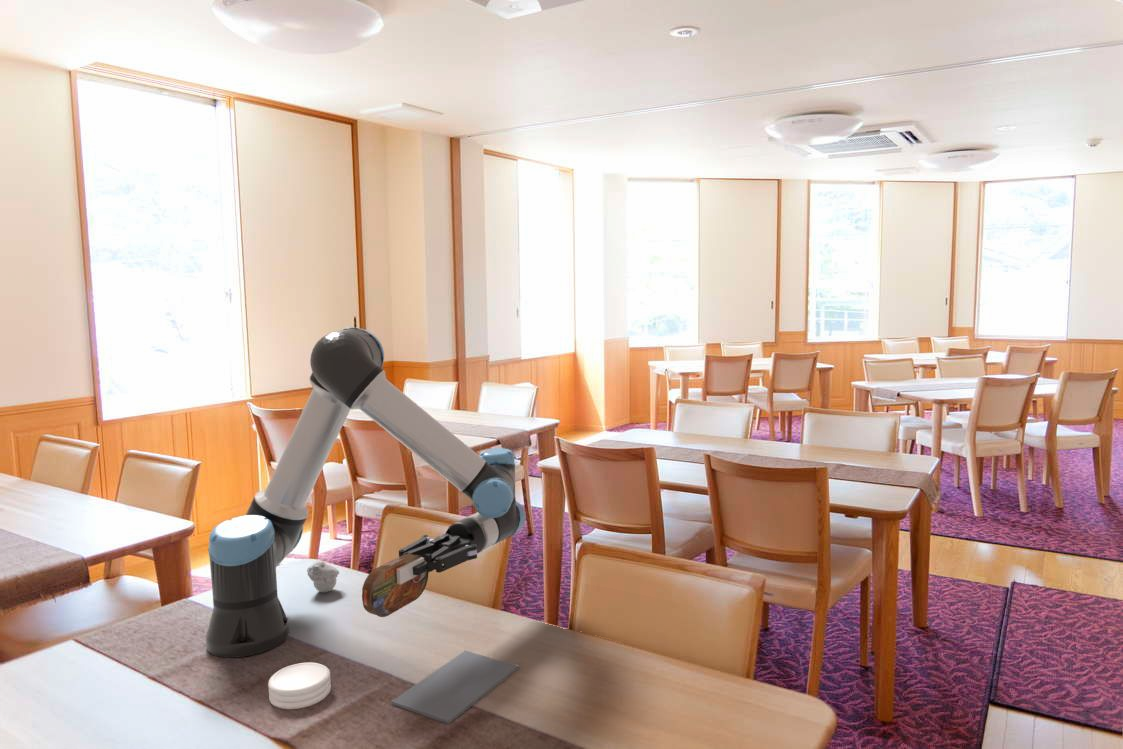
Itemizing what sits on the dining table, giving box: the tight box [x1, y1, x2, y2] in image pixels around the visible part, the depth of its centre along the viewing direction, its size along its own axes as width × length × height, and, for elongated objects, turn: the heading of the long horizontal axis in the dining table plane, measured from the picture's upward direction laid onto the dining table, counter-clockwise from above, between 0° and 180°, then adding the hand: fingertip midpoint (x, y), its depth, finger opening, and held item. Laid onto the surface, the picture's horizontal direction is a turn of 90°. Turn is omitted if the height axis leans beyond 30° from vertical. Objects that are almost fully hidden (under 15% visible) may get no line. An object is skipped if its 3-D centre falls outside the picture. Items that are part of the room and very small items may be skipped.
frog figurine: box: [306, 560, 340, 593], centre depth 174 cm, size 6×7×7 cm
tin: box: [361, 554, 430, 618], centre depth 137 cm, size 15×3×8 cm, turn 150°
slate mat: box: [391, 650, 519, 725], centre depth 133 cm, size 12×20×1 cm, turn 150°
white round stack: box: [267, 662, 332, 710], centre depth 131 cm, size 10×10×4 cm
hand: (391, 575), depth 136 cm, fingers closed on tin, 3 cm apart
